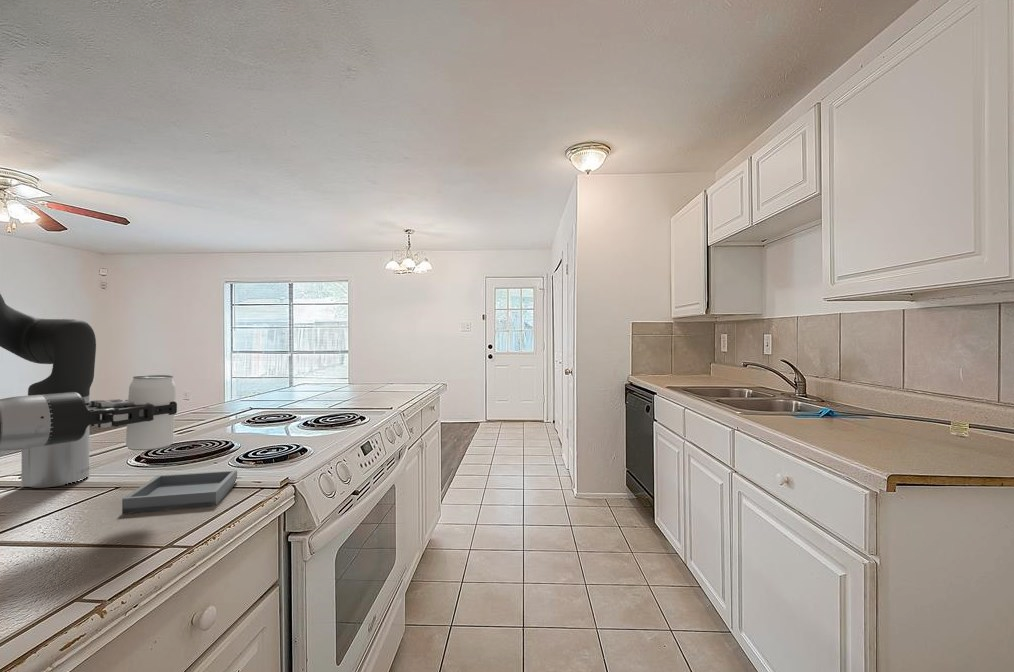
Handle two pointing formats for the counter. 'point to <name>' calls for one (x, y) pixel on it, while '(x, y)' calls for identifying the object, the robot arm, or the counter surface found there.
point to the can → (162, 427)
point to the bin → (180, 491)
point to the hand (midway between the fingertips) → (165, 406)
